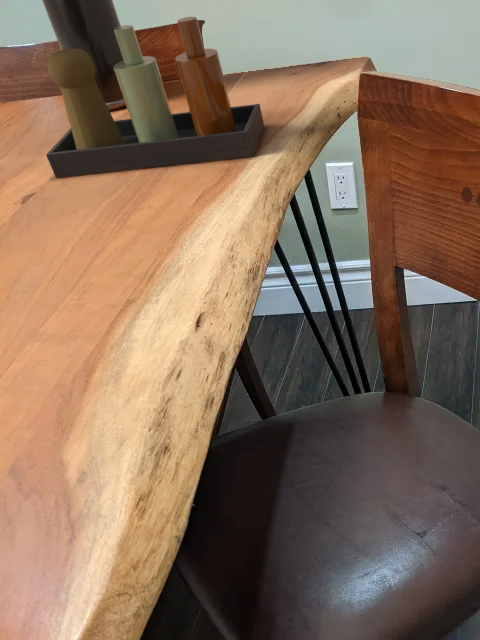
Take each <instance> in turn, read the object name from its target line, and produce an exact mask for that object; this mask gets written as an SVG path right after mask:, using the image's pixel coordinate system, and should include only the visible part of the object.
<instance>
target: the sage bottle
mask: <svg viewBox="0 0 480 640" xmlns="http://www.w3.org/2000/svg"><path fill="white" fill-rule="evenodd" d="M114 32H115V35H116V38H117V41H118V44H119V47H120V50H121V53H122V56H123V59H124V61H121V62H119V63H117V64H115V65H114V67H113V68H114V71H115V74H116V77H117V79H118V82H119V85H120V88H121V91H122V94H123V97H124V100H125V103H126V106H125V107H126V109H127V112H128V114H129V115H128V116H129V117H130V118H129V119H131V121H132V124H133V127H134V130H135V133H136V135H137V138H138V141H139V143H141V142H150V141H158V140H167V139H176V138H179V135H178V132H177V129H176V125H175V122H174V119H173V115H172V114H173V111H172V108H171V105H170V102H169V99H168V96H167V92H166V89H165V86H164V82H163V78H162V75H161V73H160V69H159V65H158V62H157V59H156V57H154V56H151V55H147V56H145V55H143V54H142V51H141V47H140V44H139V41H138V37H137V33H136V31H135V28H134V25H132V24H125V25H121V26H120V27H117V28H115V29H114Z"/></svg>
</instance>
